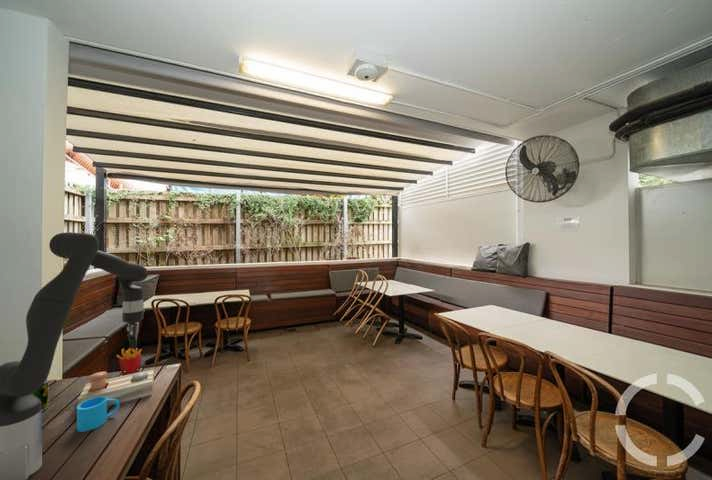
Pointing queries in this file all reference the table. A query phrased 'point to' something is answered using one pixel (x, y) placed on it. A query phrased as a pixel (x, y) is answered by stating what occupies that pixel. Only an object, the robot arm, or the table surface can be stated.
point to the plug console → (121, 389)
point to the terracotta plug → (98, 381)
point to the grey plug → (139, 376)
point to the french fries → (130, 361)
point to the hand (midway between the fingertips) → (133, 347)
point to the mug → (93, 413)
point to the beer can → (43, 394)
